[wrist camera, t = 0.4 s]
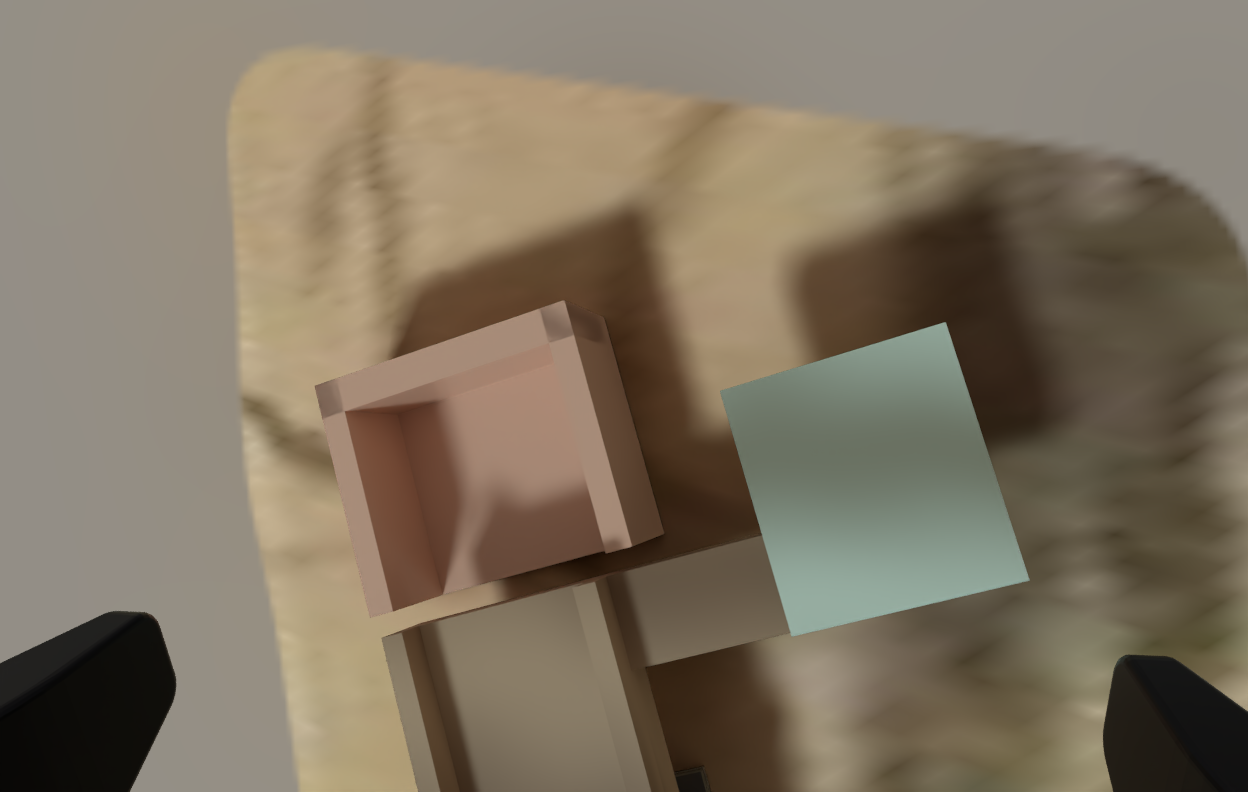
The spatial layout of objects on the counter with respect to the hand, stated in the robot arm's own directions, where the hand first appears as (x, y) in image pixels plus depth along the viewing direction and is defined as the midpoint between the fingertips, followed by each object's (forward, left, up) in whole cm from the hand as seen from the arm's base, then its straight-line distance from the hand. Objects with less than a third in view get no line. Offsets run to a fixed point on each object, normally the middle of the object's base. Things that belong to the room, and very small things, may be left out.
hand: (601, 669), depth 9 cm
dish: (+6, +4, -14) cm, 16 cm away
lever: (-3, +4, -12) cm, 13 cm away
